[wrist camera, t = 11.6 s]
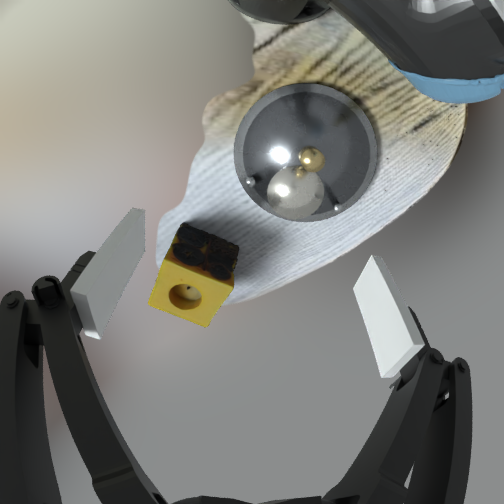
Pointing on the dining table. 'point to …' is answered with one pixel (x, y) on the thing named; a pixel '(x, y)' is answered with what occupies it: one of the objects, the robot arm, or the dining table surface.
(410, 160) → the dining table surface
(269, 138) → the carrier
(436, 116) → the dining table surface
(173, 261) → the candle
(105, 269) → the robot arm
